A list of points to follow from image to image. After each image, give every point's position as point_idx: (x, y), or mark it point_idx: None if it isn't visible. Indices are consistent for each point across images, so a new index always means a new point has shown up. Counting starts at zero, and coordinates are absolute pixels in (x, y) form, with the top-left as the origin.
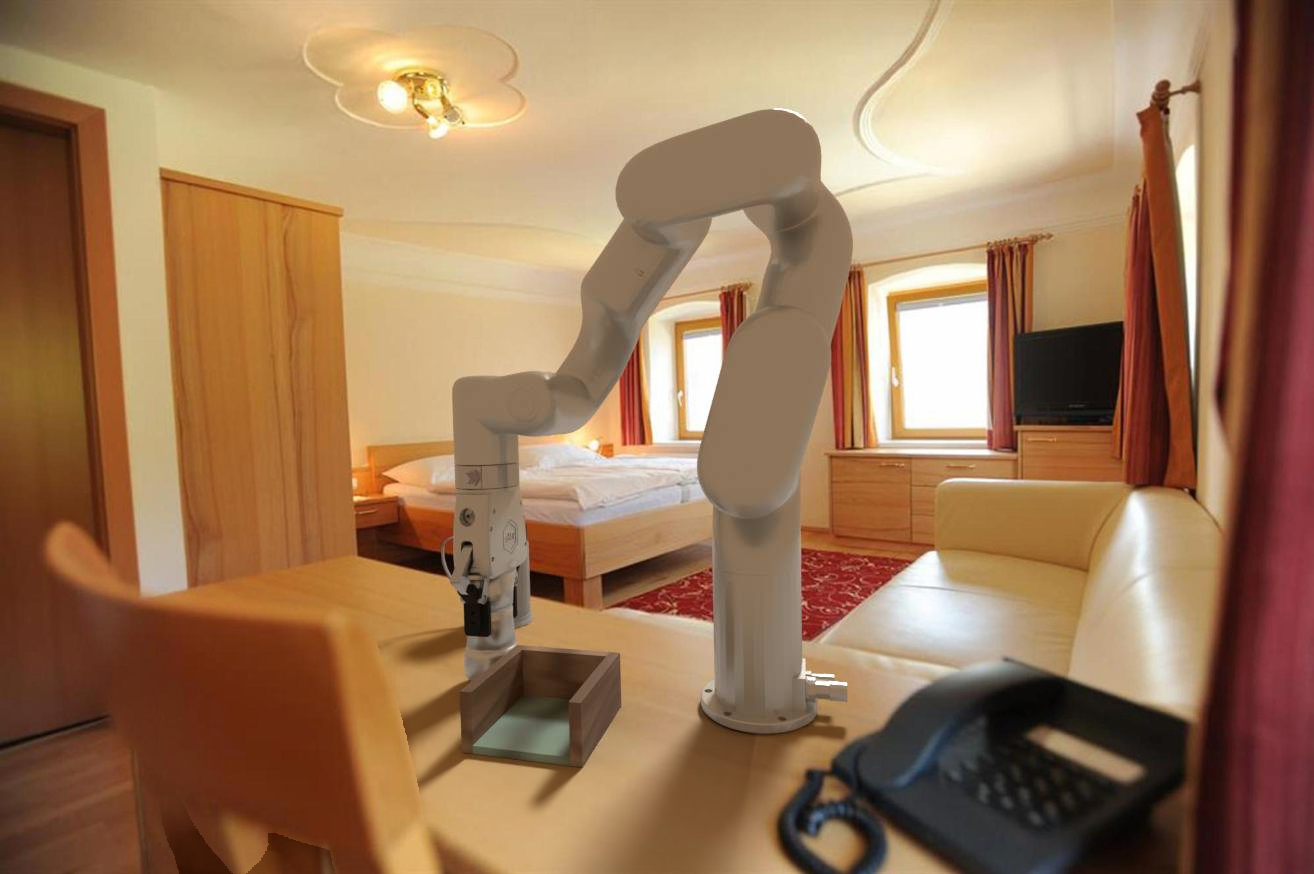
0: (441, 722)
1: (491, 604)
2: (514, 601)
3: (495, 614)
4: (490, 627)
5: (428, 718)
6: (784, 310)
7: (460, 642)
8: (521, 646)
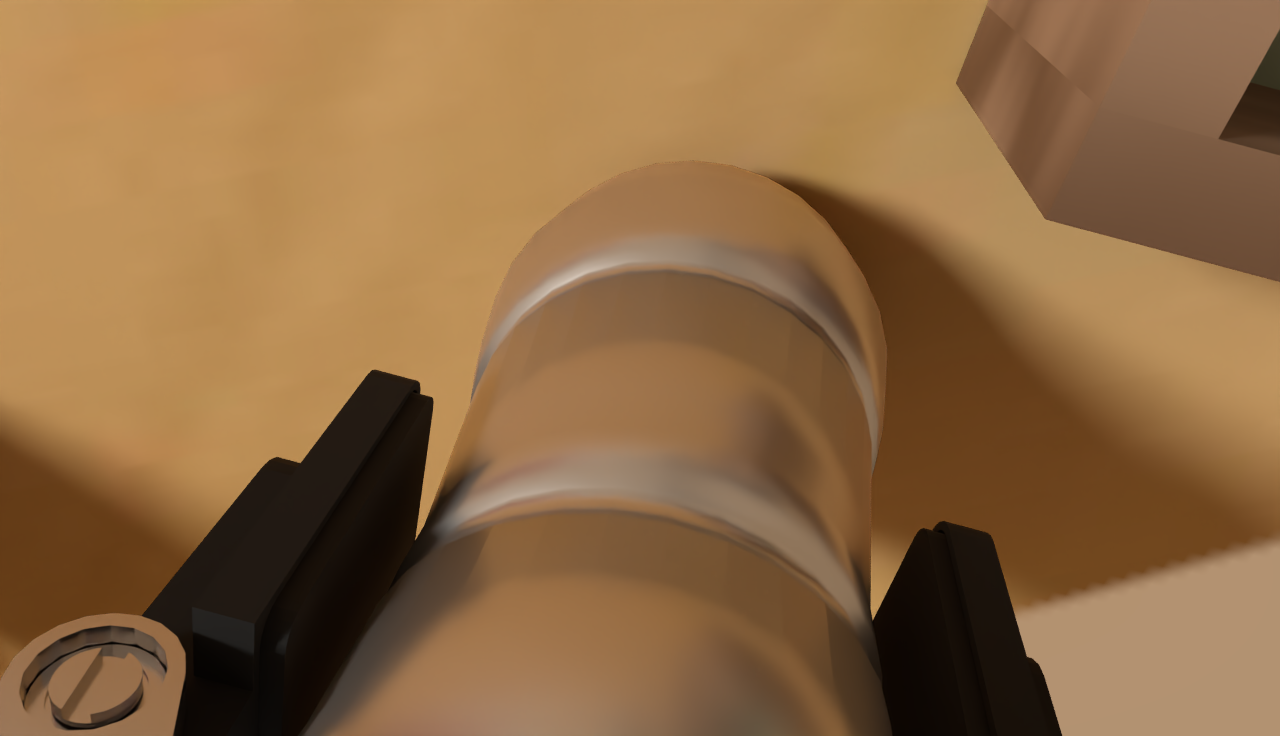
0: (1211, 463)
1: None
2: (342, 491)
3: (857, 619)
4: (968, 572)
5: (1136, 531)
6: None
7: (147, 584)
8: (1105, 165)
